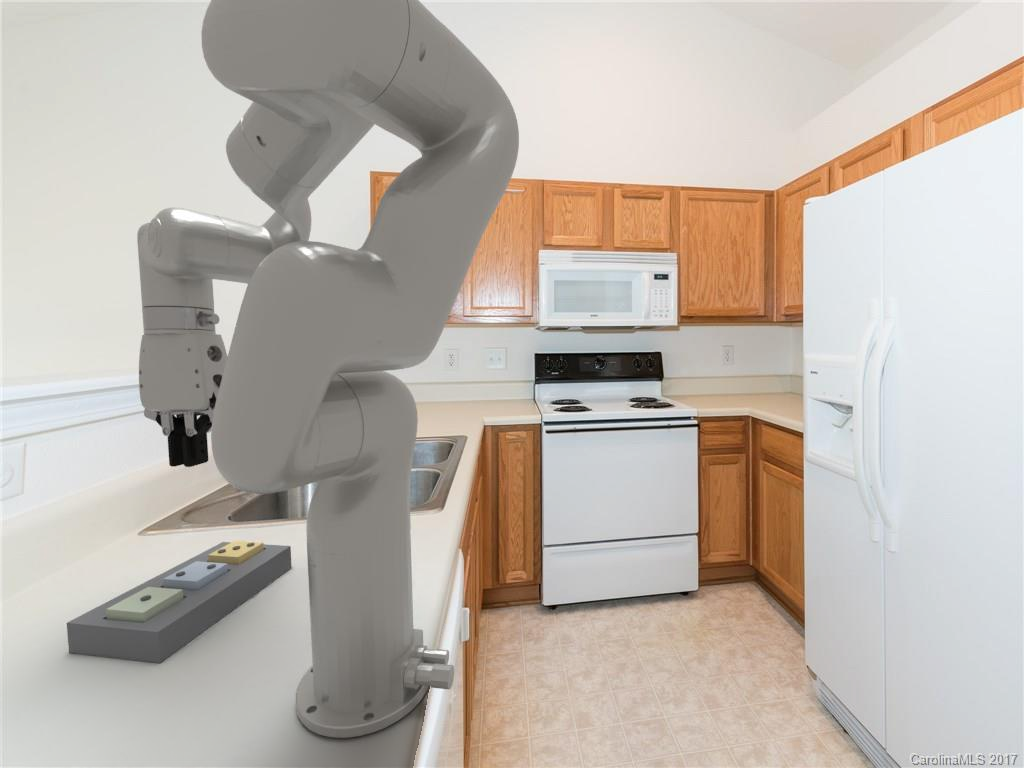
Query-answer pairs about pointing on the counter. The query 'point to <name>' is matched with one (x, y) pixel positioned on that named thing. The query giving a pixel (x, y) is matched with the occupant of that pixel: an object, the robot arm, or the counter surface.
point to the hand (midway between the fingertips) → (189, 463)
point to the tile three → (236, 552)
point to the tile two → (195, 575)
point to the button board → (176, 610)
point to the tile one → (144, 604)
